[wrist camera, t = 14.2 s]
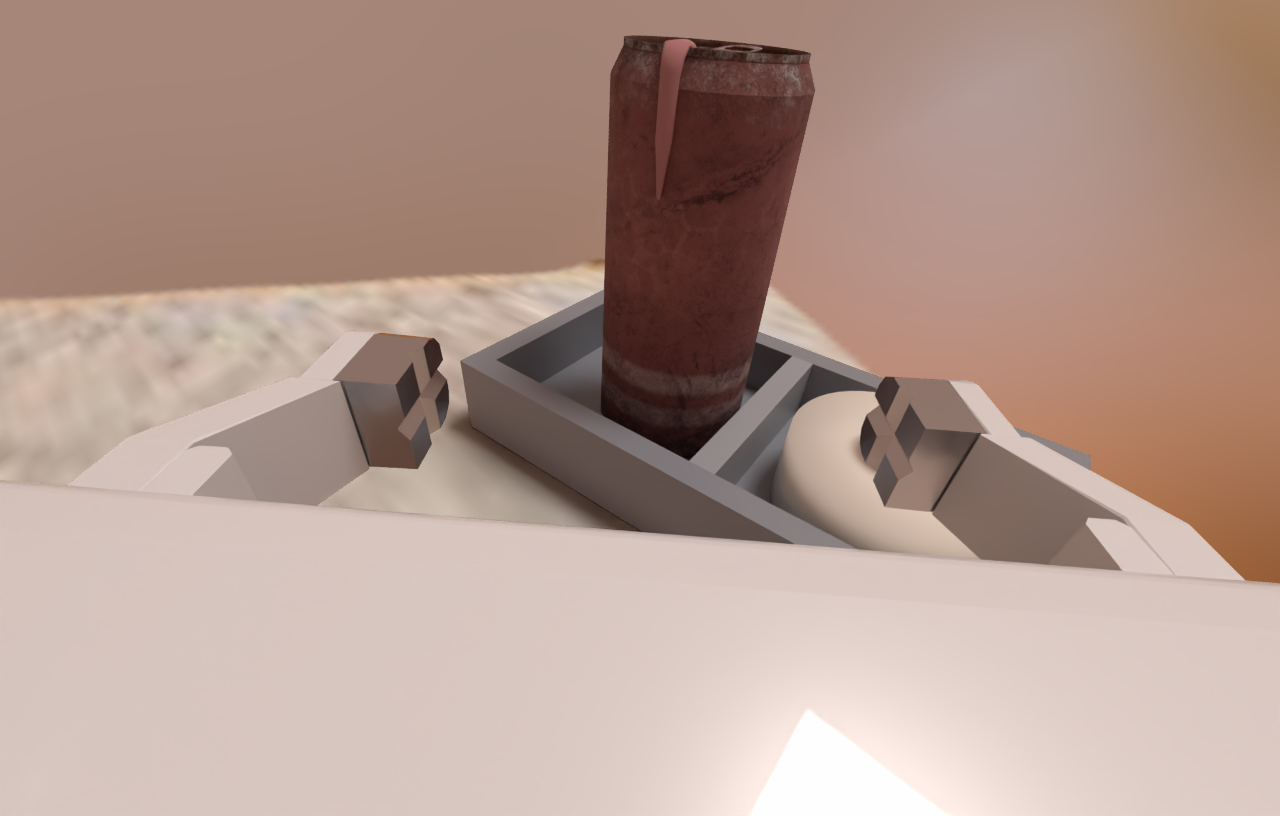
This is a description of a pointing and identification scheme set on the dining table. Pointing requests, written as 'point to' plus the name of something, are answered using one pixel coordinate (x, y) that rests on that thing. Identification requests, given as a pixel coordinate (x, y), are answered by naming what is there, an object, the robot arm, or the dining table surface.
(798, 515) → the cream knobbed oval piece
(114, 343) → the dining table surface
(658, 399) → the can
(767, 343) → the tray
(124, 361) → the dining table surface
